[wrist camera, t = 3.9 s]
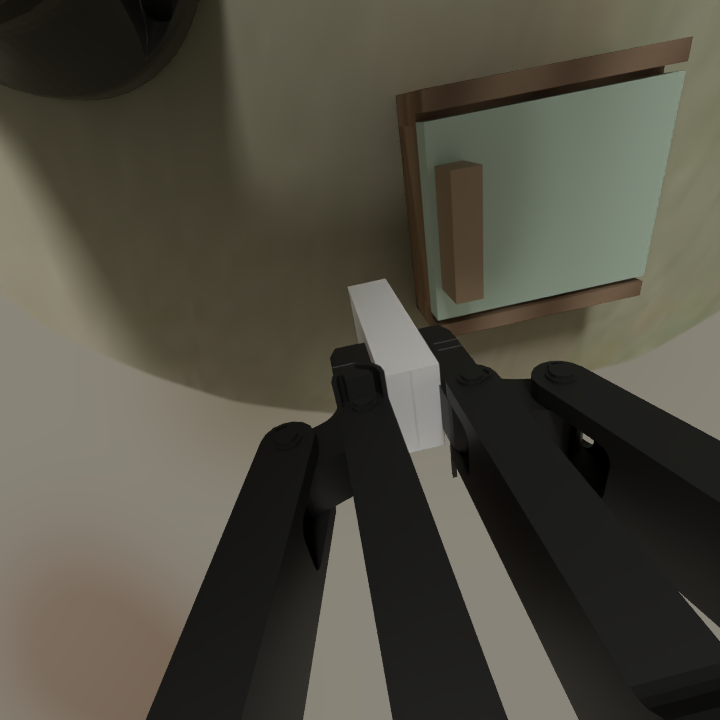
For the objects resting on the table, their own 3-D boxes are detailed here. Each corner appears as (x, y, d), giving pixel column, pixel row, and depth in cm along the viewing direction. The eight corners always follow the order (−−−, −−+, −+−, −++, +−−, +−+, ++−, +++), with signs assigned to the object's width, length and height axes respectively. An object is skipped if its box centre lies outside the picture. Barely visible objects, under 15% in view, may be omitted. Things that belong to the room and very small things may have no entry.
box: (417, 307, 32) (439, 339, 27) (395, 95, 24) (421, 89, 20) (588, 269, 32) (639, 295, 28) (617, 52, 25) (692, 36, 20)
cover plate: (431, 311, 28) (451, 338, 24) (415, 122, 22) (439, 122, 18) (627, 268, 28) (674, 288, 25) (663, 73, 22) (730, 64, 19)
